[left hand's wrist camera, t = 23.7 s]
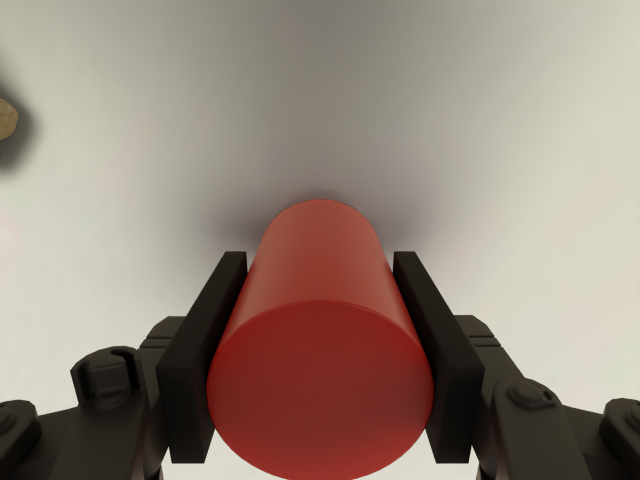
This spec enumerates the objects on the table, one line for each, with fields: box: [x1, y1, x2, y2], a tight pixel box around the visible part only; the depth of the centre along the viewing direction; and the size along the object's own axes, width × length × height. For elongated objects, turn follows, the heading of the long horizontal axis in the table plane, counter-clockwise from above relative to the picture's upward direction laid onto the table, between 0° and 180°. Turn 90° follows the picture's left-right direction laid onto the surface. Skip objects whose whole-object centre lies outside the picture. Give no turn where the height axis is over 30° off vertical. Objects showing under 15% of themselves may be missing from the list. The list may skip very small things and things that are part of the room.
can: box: [206, 199, 435, 480], centre depth 13 cm, size 5×5×9 cm
